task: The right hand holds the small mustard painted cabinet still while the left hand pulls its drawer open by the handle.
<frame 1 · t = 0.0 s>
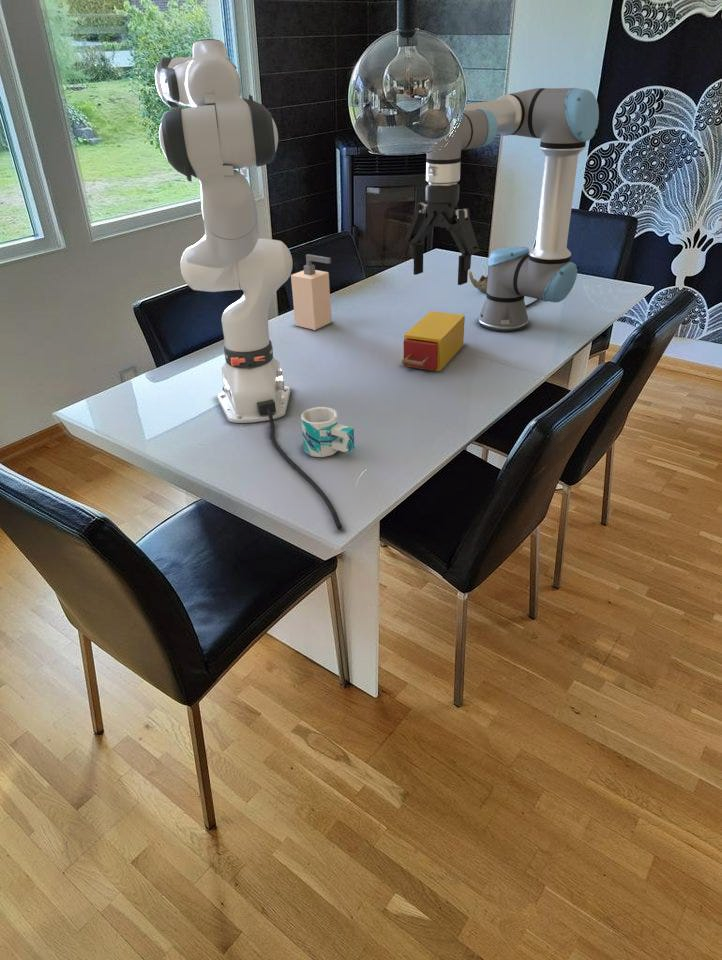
left hand: (226, 177, 174), 48 cm above the table, tool pointing down, fingers open, 8 cm apart
right hand: (439, 278, 161), 28 cm above the table, tool pointing down, fingers open, 13 cm apart
soap dispenser: (318, 325, 217), on the table
mug: (329, 451, 149), on the table
jawbone: (487, 291, 241), on the table
drawer: (428, 346, 187), point 5 cm above the table, slide at 0.6 cm
cabinet: (434, 355, 193), on the table
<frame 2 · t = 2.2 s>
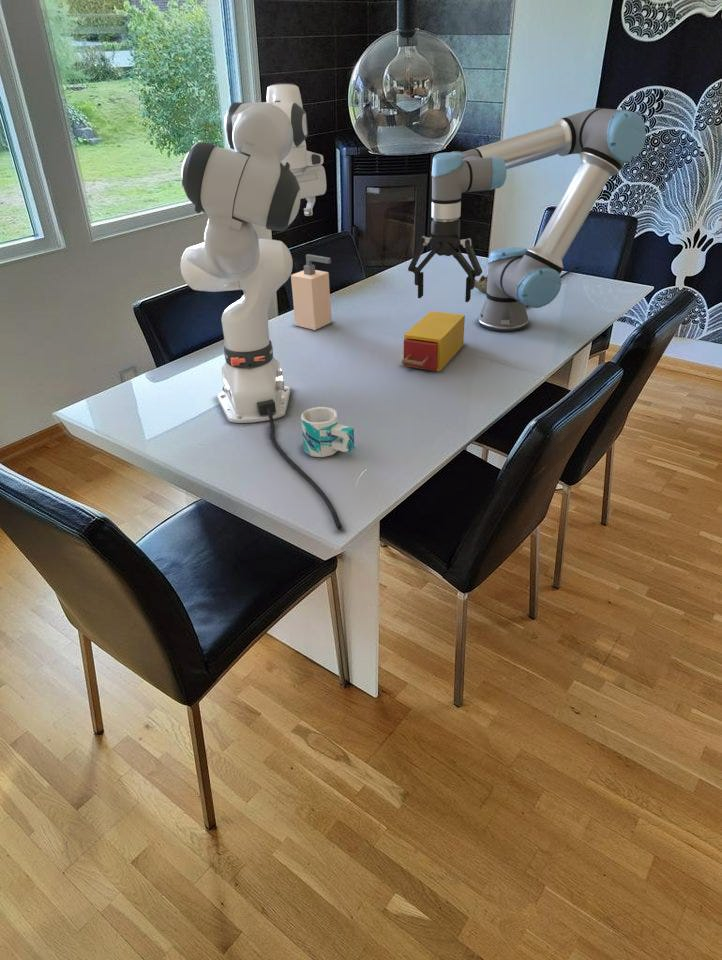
left hand: (294, 218, 172), 39 cm above the table, tool pointing down, fingers open, 8 cm apart
right hand: (443, 298, 187), 16 cm above the table, tool pointing down, fingers open, 13 cm apart
nothing on the table moved.
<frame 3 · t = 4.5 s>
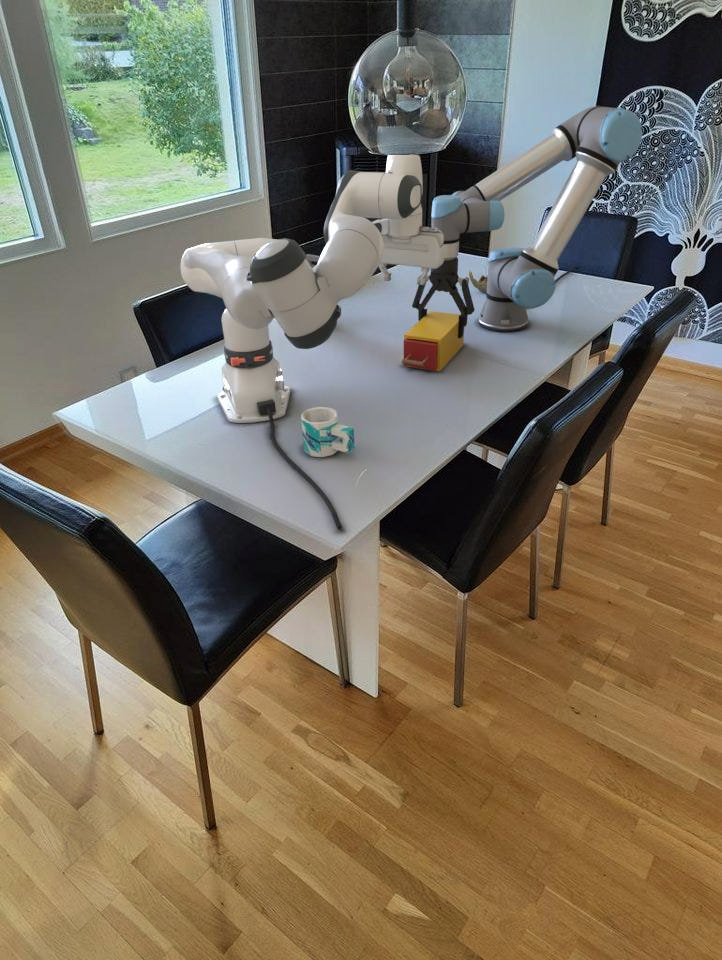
left hand: (403, 282, 170), 25 cm above the table, tool pointing down, fingers open, 8 cm apart
right hand: (442, 334, 195), 4 cm above the table, tool pointing down, fingers closed on cabinet, 11 cm apart
cabinet: (434, 355, 193), on the table, touching right hand
everything else where it was.
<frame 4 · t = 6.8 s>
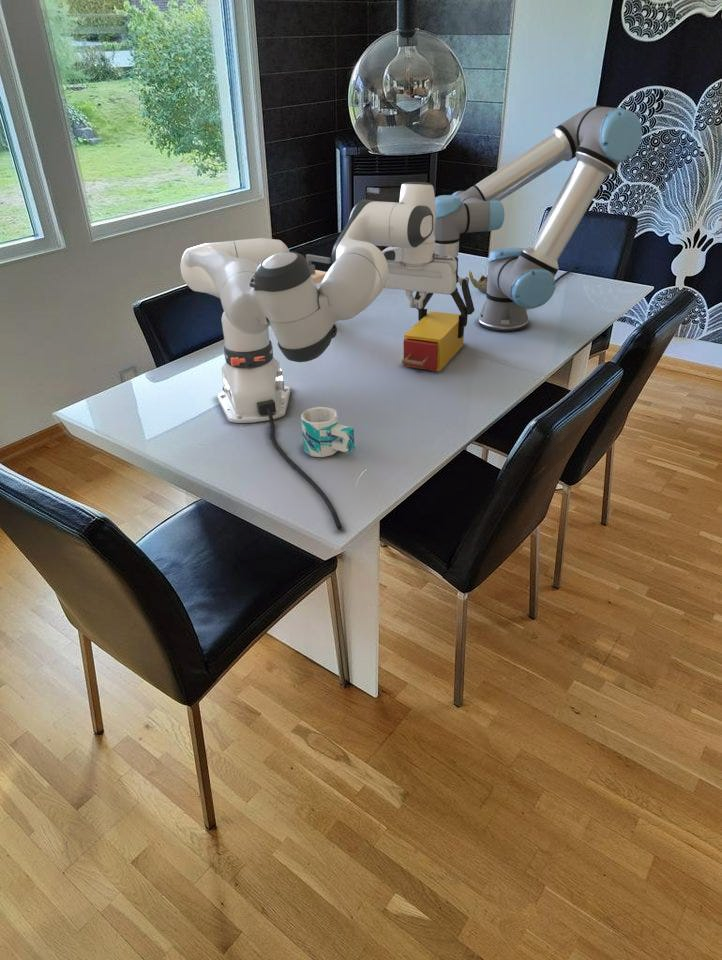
left hand: (416, 307, 172), 19 cm above the table, tool pointing down, fingers closed
right hand: (442, 334, 195), 4 cm above the table, tool pointing down, fingers closed on cabinet, 11 cm apart
cabinet: (434, 355, 193), on the table, touching right hand
everything else where it was.
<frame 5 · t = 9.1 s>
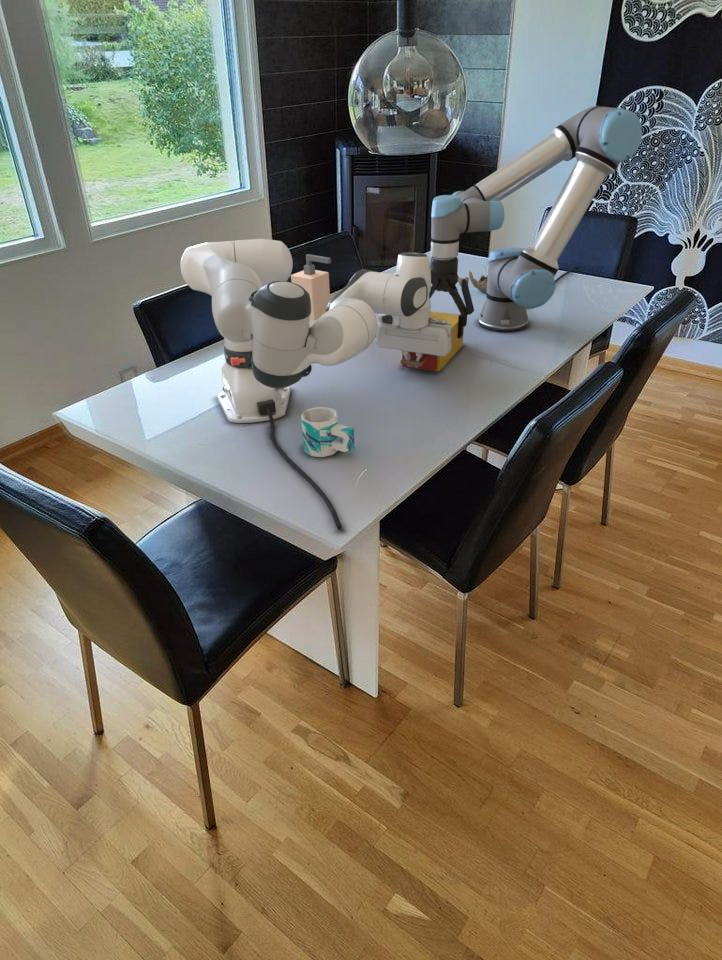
left hand: (413, 366, 179), 3 cm above the table, tool pointing down, fingers closed, pressing on drawer
right hand: (441, 334, 195), 4 cm above the table, tool pointing down, fingers closed on cabinet, 11 cm apart
drawer: (427, 347, 186), point 5 cm above the table, slide at 1.2 cm, touching left hand
cabinet: (434, 355, 193), on the table, touching right hand
everything else where it was.
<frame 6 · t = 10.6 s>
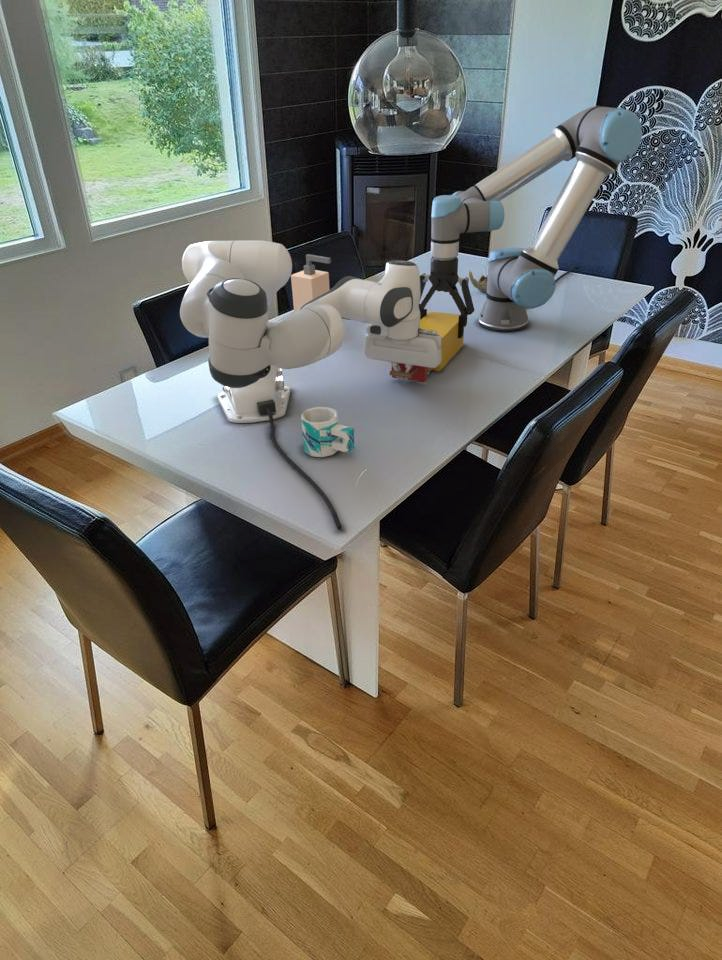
left hand: (402, 377, 174), 3 cm above the table, tool pointing down, fingers closed, pressing on drawer
right hand: (441, 334, 195), 4 cm above the table, tool pointing down, fingers closed on cabinet, 11 cm apart
drawer: (417, 357, 180), point 5 cm above the table, slide at 9.0 cm, touching left hand
cabinet: (434, 355, 193), on the table, touching right hand
everything else where it was.
when the right hand's fingers open (4 cm above the table, at t = 12.4 s): cabinet stays where it is, on the table.
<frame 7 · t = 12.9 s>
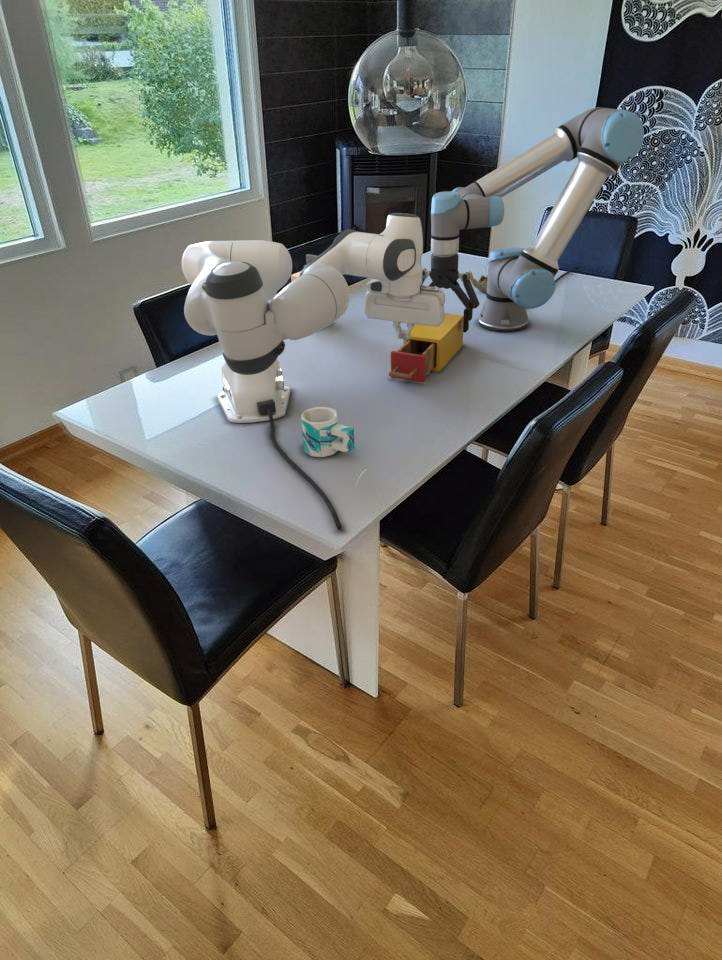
left hand: (404, 338, 168), 13 cm above the table, tool pointing down, fingers closed
right hand: (443, 328, 194), 6 cm above the table, tool pointing down, fingers open, 13 cm apart
drawer: (417, 357, 180), point 5 cm above the table, slide at 9.0 cm
cabinet: (433, 355, 193), on the table
everything else where it was.
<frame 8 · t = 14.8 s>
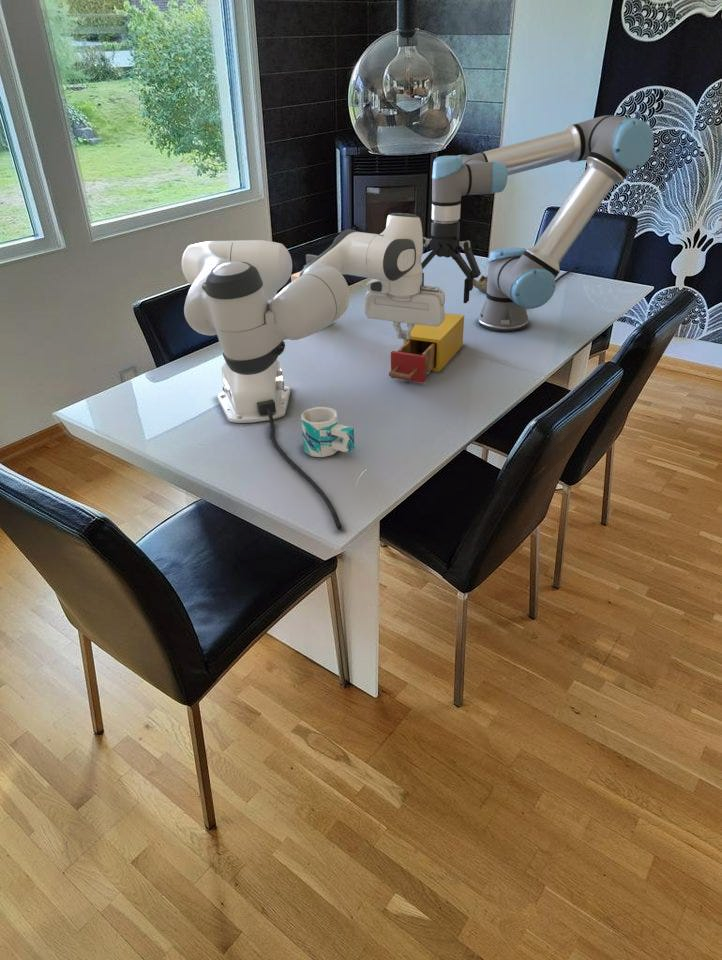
left hand: (404, 338, 168), 13 cm above the table, tool pointing down, fingers closed
right hand: (443, 299, 190), 14 cm above the table, tool pointing down, fingers open, 13 cm apart
nothing on the table moved.
at the end: drawer slide at 9.0 cm; cabinet tilted 0°; cabinet never tilted more than 2° during the clip; cabinet moved 0.3 cm from its start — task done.
